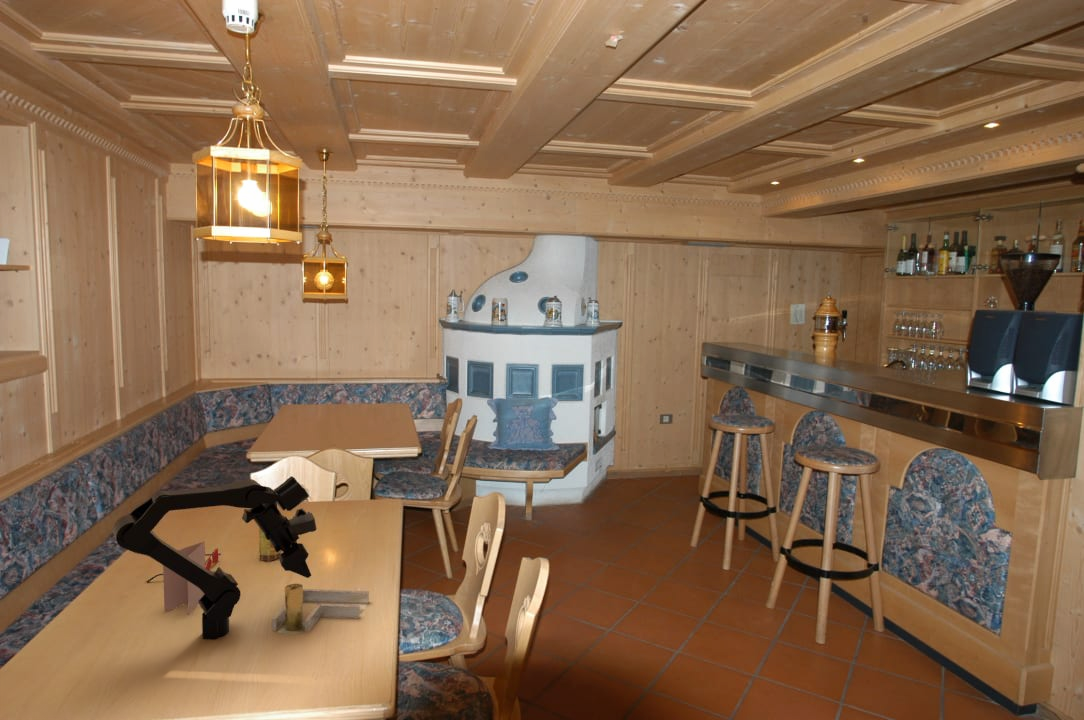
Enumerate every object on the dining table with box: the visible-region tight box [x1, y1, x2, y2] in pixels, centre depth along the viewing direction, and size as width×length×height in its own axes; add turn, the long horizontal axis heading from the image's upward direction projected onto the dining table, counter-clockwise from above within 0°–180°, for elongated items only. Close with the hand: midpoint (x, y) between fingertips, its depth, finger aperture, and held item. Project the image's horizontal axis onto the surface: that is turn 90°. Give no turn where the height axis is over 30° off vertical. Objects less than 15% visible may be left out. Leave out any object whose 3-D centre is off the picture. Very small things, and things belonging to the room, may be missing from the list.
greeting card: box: [162, 541, 206, 616], centre depth 172 cm, size 11×7×15 cm, turn 152°
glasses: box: [145, 547, 222, 583], centre depth 194 cm, size 14×16×5 cm
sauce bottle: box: [258, 503, 282, 562], centre depth 205 cm, size 7×6×20 cm
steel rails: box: [271, 588, 370, 633], centre depth 167 cm, size 16×18×3 cm
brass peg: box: [284, 583, 304, 631], centre depth 161 cm, size 4×4×10 cm
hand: (305, 568), depth 170 cm, fingers open, 9 cm apart
